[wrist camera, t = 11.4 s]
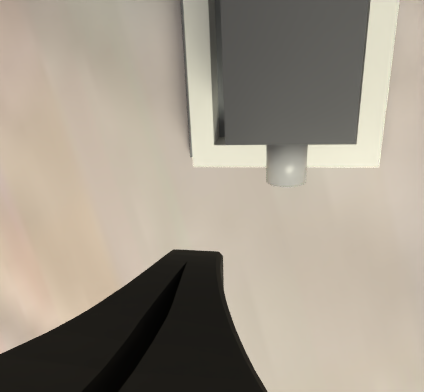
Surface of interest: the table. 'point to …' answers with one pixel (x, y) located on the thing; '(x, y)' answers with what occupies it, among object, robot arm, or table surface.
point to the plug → (291, 77)
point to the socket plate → (256, 154)
